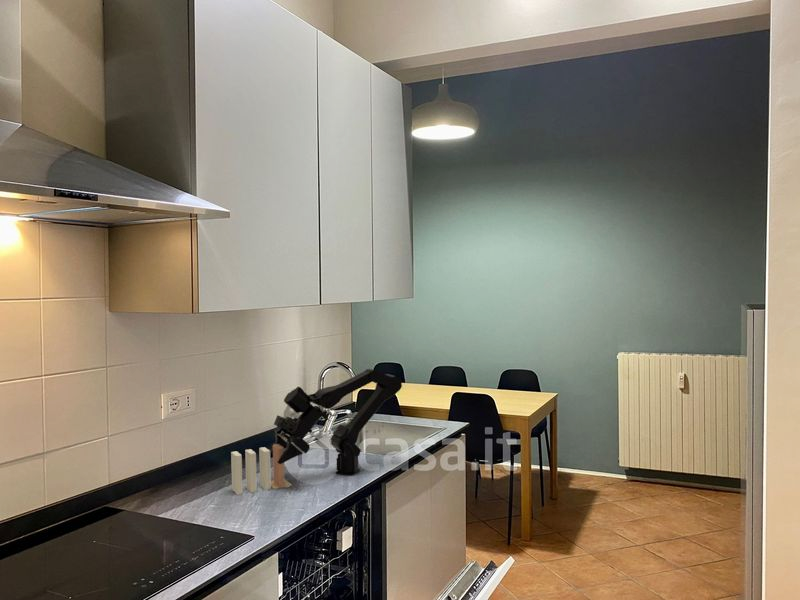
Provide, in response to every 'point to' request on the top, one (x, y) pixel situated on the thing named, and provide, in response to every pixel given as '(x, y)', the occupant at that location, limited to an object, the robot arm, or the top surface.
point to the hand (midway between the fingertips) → (274, 460)
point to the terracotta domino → (278, 465)
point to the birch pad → (280, 486)
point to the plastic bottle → (290, 413)
